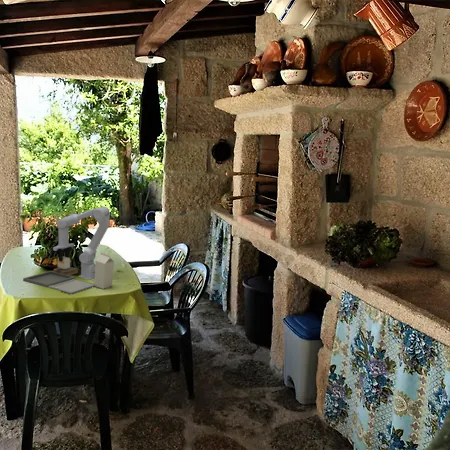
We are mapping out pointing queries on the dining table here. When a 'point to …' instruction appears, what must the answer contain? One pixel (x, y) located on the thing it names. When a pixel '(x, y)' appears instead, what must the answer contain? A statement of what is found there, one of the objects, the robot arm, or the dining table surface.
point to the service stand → (66, 271)
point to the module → (64, 263)
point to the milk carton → (103, 271)
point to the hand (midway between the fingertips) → (63, 260)
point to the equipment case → (59, 282)
